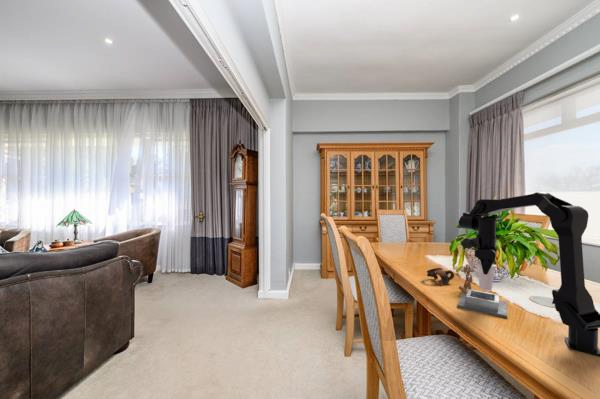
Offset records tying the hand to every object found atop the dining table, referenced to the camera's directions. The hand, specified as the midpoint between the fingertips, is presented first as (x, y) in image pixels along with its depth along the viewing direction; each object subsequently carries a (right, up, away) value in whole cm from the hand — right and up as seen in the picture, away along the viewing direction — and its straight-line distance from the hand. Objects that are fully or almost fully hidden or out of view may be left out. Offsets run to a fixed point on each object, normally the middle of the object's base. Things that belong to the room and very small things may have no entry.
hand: (485, 272), depth 103 cm
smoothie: (0, -7, 0) cm, 7 cm away
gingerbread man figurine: (+3, -13, +16) cm, 21 cm away
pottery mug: (-3, -13, +28) cm, 31 cm away
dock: (-1, -13, 0) cm, 13 cm away
